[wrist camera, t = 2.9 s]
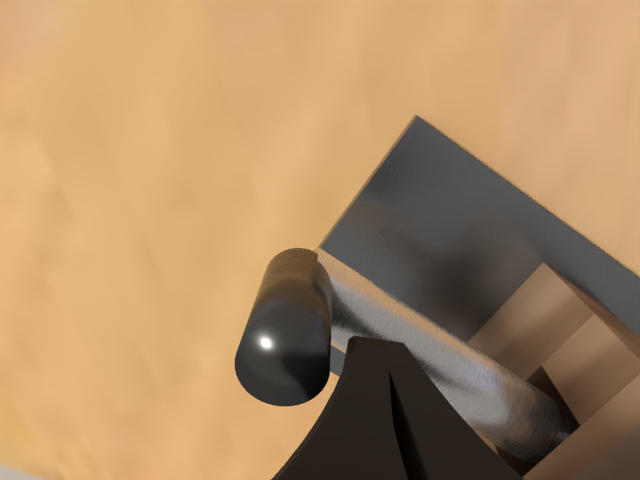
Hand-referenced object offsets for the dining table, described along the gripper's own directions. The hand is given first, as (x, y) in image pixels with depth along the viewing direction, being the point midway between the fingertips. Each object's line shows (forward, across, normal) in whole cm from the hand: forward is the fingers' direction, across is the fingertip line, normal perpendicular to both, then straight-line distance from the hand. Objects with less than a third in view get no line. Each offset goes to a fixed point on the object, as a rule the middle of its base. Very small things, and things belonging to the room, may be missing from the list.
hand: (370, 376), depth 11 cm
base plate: (+8, -6, +3) cm, 10 cm away
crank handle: (+3, -3, +1) cm, 5 cm away
